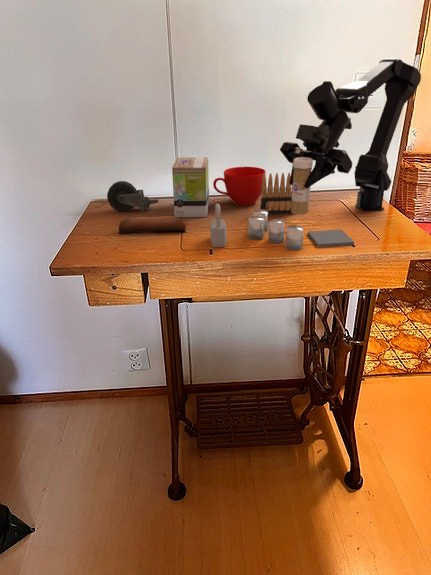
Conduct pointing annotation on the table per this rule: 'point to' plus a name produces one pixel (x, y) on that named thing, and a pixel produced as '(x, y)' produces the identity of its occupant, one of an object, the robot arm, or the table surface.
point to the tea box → (190, 187)
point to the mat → (330, 238)
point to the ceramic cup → (242, 184)
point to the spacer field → (275, 230)
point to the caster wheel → (127, 197)
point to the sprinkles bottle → (301, 185)
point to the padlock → (218, 229)
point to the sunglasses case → (151, 224)
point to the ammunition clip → (276, 195)
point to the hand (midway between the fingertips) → (297, 185)
